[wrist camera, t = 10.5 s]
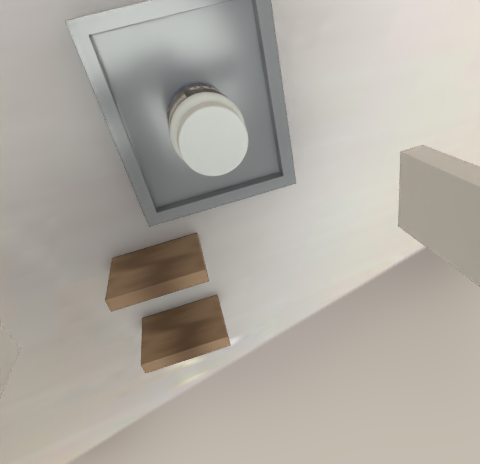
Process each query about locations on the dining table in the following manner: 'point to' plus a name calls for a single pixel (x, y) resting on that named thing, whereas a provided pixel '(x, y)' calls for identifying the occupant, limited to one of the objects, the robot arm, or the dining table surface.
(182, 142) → the pill bottle
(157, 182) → the slate tray
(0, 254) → the dining table surface
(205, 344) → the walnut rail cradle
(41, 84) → the dining table surface
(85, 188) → the dining table surface
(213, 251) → the dining table surface
